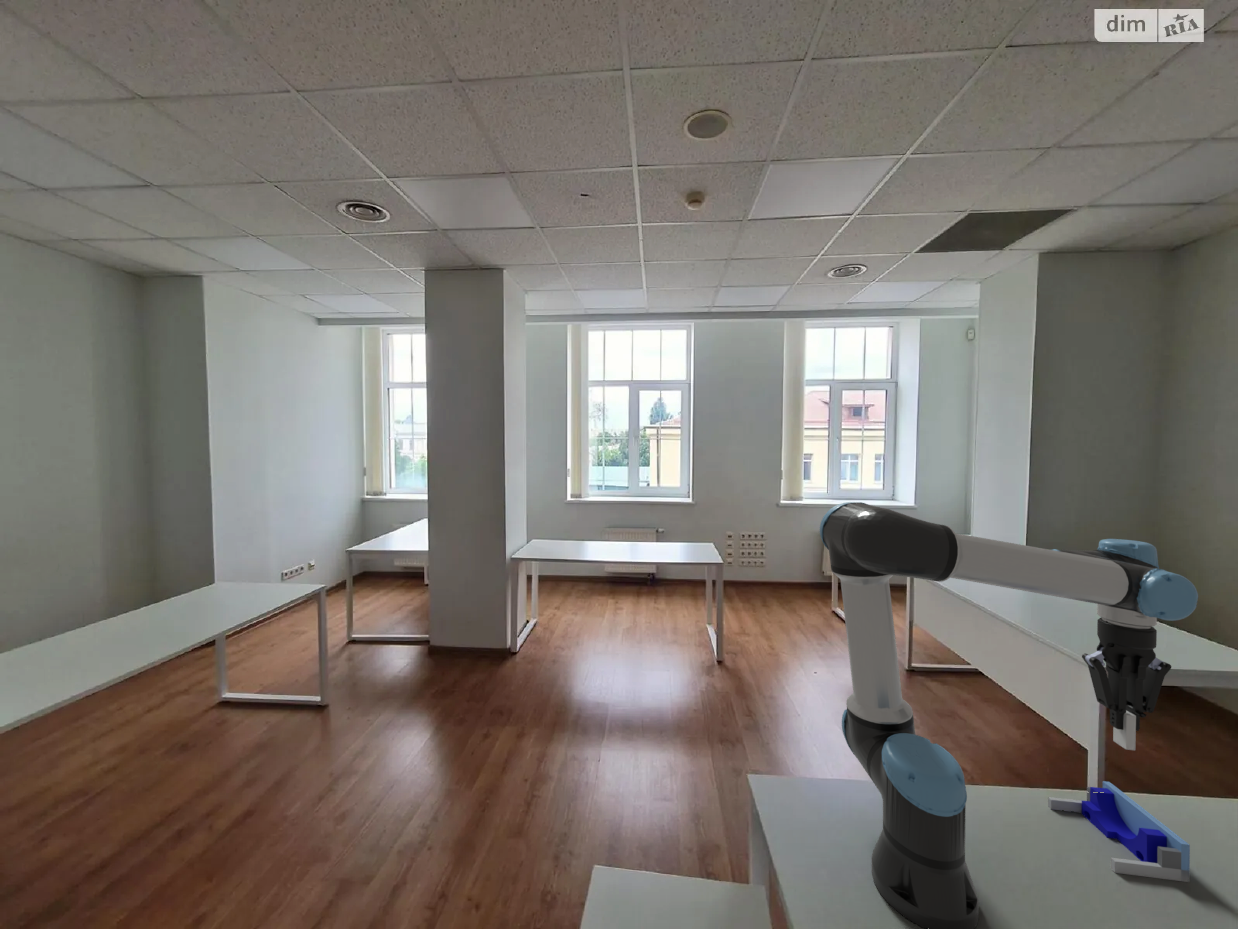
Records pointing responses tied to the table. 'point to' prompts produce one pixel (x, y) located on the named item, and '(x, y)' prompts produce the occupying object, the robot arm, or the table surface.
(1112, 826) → the blue arched bracket piece
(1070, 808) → the blue wall bracket
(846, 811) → the table surface
